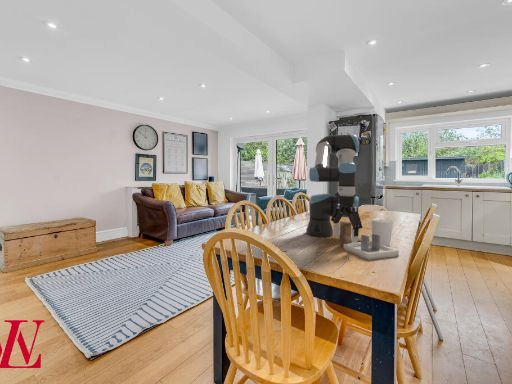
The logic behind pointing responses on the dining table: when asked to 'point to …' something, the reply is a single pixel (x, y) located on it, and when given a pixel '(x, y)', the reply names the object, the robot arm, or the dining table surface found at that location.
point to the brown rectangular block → (345, 233)
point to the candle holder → (382, 230)
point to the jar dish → (371, 248)
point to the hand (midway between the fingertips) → (345, 239)
